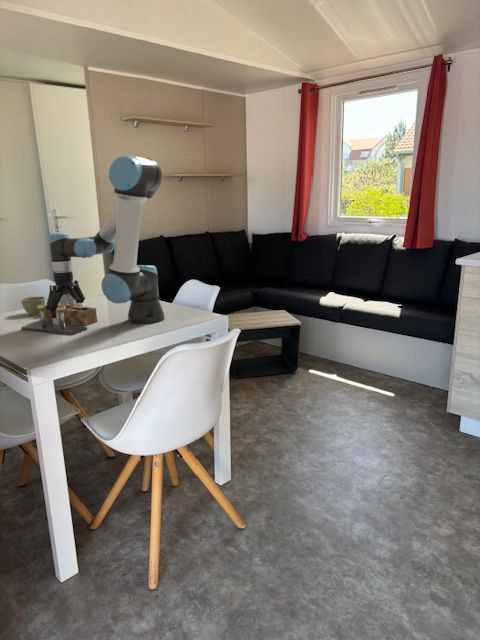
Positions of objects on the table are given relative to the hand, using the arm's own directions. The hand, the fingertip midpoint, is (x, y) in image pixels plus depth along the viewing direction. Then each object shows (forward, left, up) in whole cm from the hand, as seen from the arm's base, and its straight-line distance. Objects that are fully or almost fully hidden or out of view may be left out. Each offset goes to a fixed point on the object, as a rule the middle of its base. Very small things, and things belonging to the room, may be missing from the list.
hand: (68, 321), depth 197 cm
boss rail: (-4, +12, 0) cm, 13 cm away
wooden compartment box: (0, 0, 0) cm, 0 cm away
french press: (+14, -17, 0) cm, 22 cm away
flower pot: (+26, -7, 0) cm, 27 cm away
